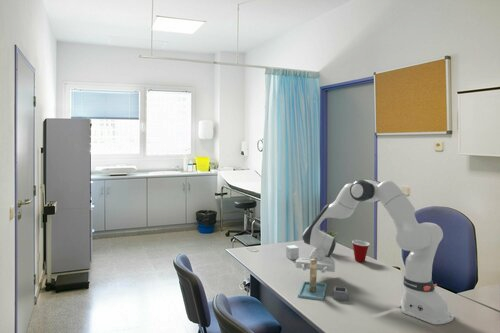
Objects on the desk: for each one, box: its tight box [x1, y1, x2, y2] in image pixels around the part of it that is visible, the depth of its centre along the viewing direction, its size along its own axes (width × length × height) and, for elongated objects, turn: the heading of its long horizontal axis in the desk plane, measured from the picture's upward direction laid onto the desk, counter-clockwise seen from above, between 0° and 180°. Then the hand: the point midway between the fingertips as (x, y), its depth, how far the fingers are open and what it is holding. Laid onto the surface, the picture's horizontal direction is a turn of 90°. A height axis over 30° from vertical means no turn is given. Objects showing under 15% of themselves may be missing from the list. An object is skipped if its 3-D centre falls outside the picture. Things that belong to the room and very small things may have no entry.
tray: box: [297, 280, 328, 301], centre depth 192 cm, size 18×12×2 cm, turn 164°
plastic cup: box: [351, 239, 370, 263], centre depth 240 cm, size 11×11×12 cm
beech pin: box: [309, 259, 318, 293], centre depth 191 cm, size 3×3×16 cm
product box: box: [285, 244, 300, 260], centre depth 245 cm, size 6×6×7 cm
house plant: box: [322, 229, 339, 242], centre depth 253 cm, size 14×14×16 cm
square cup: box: [333, 285, 348, 302], centre depth 185 cm, size 6×6×5 cm
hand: (313, 269), depth 193 cm, fingers open, 8 cm apart
